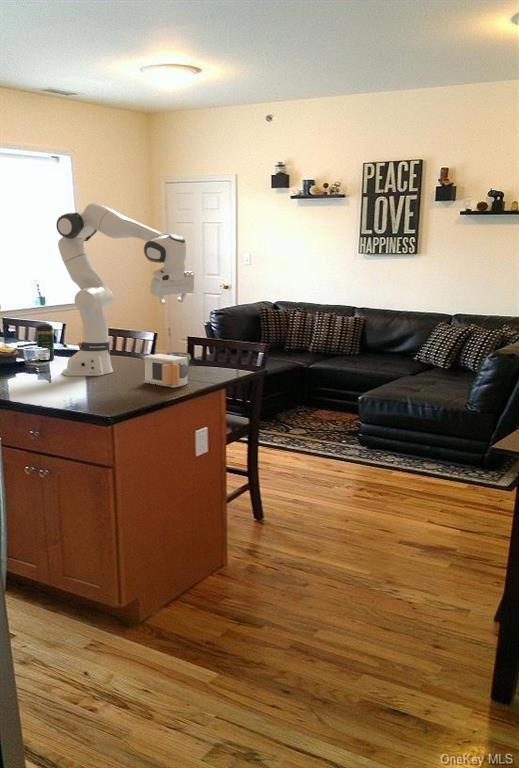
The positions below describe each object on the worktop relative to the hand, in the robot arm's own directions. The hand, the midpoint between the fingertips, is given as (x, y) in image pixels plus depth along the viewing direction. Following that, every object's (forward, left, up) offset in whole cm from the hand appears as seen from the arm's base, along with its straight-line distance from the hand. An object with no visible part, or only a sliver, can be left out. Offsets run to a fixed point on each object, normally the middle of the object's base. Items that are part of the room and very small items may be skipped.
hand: (171, 303), depth 284 cm
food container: (+5, +4, -33) cm, 34 cm away
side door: (-7, -25, -31) cm, 41 cm away
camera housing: (-5, -14, -33) cm, 36 cm away
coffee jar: (-53, +59, -33) cm, 86 cm away
